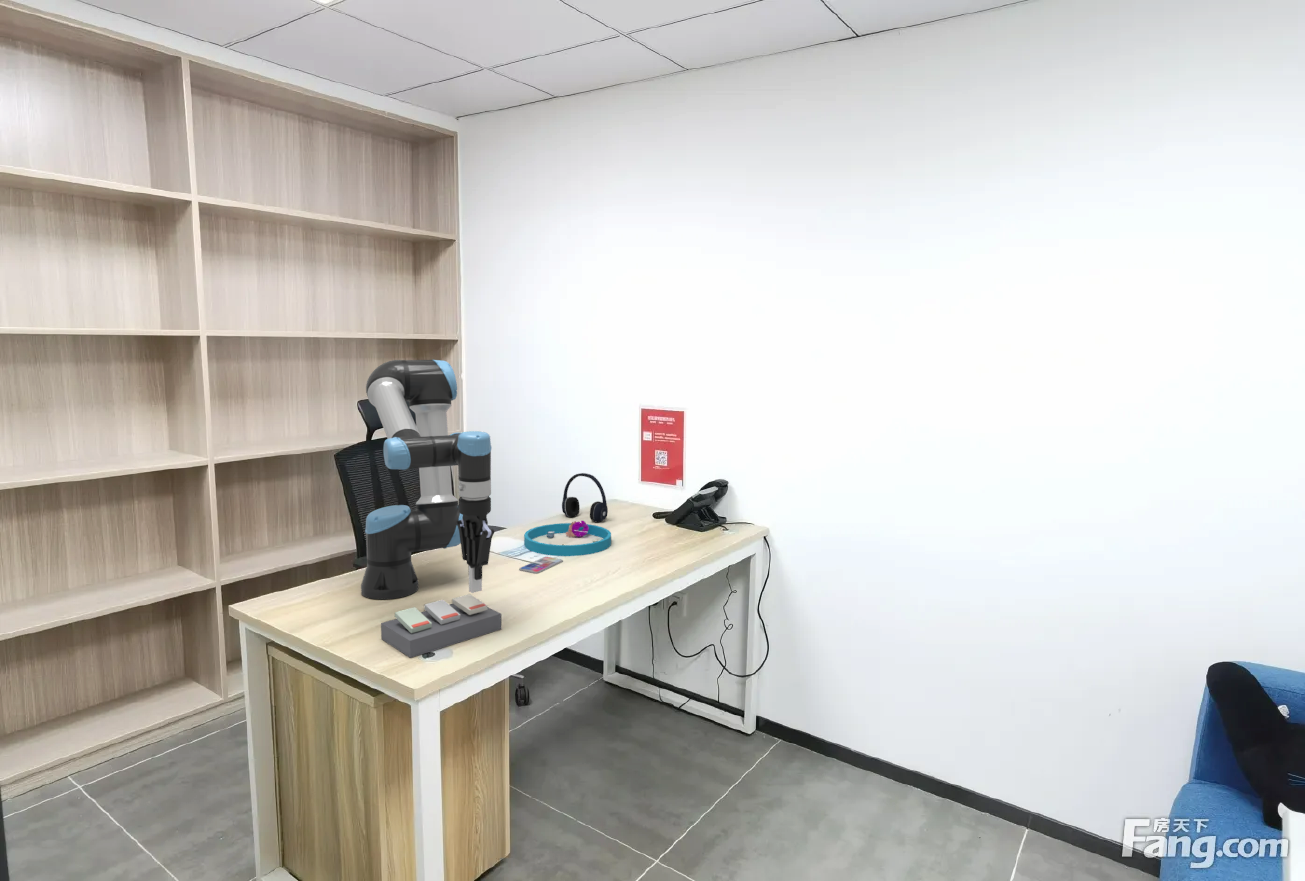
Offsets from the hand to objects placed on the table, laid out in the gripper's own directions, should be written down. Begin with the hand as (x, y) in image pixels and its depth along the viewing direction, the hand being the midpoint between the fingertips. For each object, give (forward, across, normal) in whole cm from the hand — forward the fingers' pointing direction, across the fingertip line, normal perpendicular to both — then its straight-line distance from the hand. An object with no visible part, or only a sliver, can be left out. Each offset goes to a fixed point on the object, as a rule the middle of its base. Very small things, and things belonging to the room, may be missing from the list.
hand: (475, 590), depth 180 cm
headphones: (+12, -66, +91) cm, 113 cm away
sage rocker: (+4, -2, -15) cm, 16 cm away
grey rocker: (+4, -2, -8) cm, 9 cm away
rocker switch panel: (+10, -5, -8) cm, 13 cm away
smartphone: (+11, -29, +42) cm, 53 cm away
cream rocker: (+4, -2, 0) cm, 5 cm away
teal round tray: (+12, -43, +64) cm, 78 cm away
